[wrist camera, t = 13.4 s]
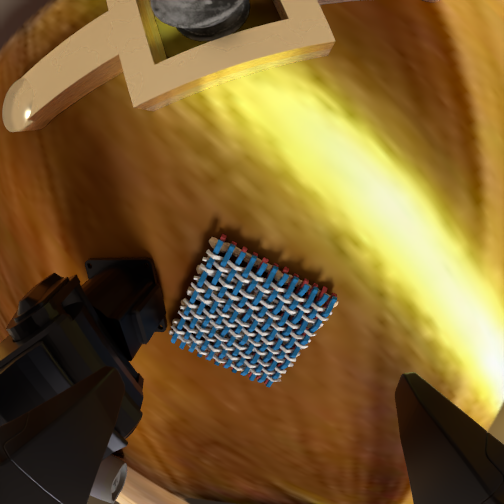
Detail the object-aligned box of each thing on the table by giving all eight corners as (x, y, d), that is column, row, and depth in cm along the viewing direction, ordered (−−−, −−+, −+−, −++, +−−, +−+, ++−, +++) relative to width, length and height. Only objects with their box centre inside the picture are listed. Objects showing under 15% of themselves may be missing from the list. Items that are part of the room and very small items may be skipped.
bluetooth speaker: (29, 414, 37) (6, 448, 28) (16, 386, 34) (-13, 422, 24) (131, 468, 37) (113, 511, 28) (128, 448, 34) (106, 498, 25)
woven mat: (168, 330, 24) (160, 344, 23) (216, 225, 21) (209, 234, 19) (273, 379, 25) (272, 394, 23) (342, 291, 21) (347, 304, 20)
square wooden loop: (40, 176, 20) (17, 183, 17) (18, 66, 16) (-3, 64, 13) (327, 55, 15) (335, 41, 12) (268, -64, 11) (265, -86, 9)
